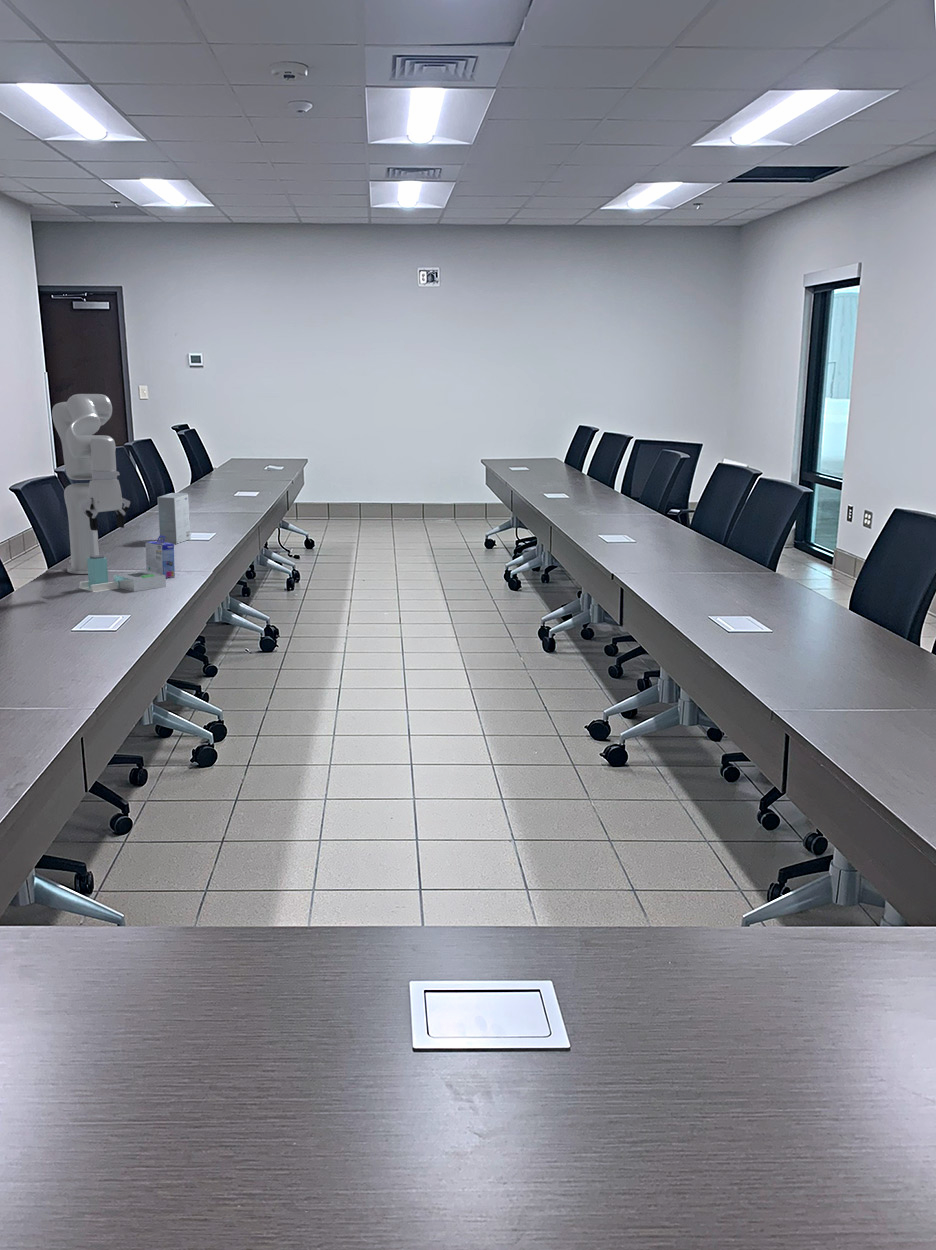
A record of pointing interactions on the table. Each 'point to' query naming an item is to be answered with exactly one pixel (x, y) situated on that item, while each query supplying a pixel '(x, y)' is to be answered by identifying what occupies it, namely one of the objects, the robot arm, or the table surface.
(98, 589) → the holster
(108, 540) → the table surface
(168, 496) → the hard drive box
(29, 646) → the table surface
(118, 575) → the port
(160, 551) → the ink cartridge box
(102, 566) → the plug
